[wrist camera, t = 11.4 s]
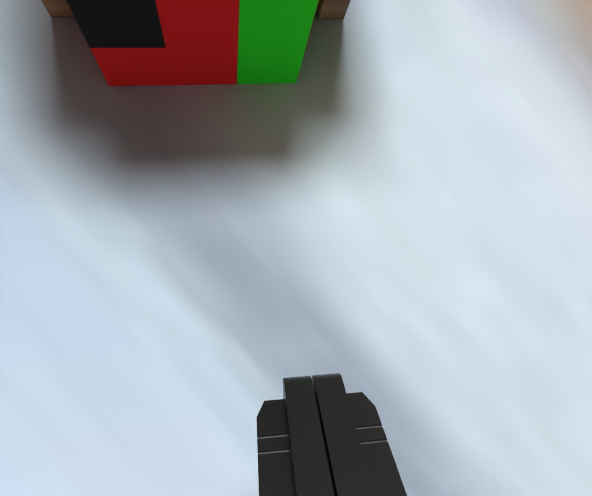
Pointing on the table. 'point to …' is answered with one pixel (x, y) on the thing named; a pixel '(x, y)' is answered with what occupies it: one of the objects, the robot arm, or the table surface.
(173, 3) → the puzzle toy
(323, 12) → the brown wooden box
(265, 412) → the robot arm
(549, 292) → the table surface
